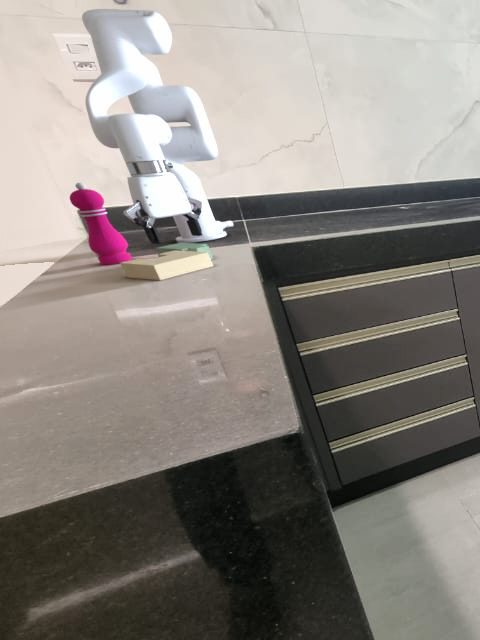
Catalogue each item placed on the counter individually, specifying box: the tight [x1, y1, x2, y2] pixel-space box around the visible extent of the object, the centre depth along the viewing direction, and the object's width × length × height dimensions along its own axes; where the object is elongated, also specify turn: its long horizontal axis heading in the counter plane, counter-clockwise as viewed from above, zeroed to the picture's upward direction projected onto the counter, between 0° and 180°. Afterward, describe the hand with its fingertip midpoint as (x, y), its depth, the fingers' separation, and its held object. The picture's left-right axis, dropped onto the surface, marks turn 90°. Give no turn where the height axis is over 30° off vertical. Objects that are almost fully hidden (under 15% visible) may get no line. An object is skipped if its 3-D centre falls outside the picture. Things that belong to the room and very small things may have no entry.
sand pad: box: [119, 250, 214, 281], centre depth 126 cm, size 12×12×4 cm
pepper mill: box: [69, 182, 133, 266], centre depth 135 cm, size 7×7×20 cm
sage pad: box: [155, 242, 214, 261], centre depth 137 cm, size 6×13×4 cm, turn 71°
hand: (178, 239), depth 136 cm, fingers open, 9 cm apart
